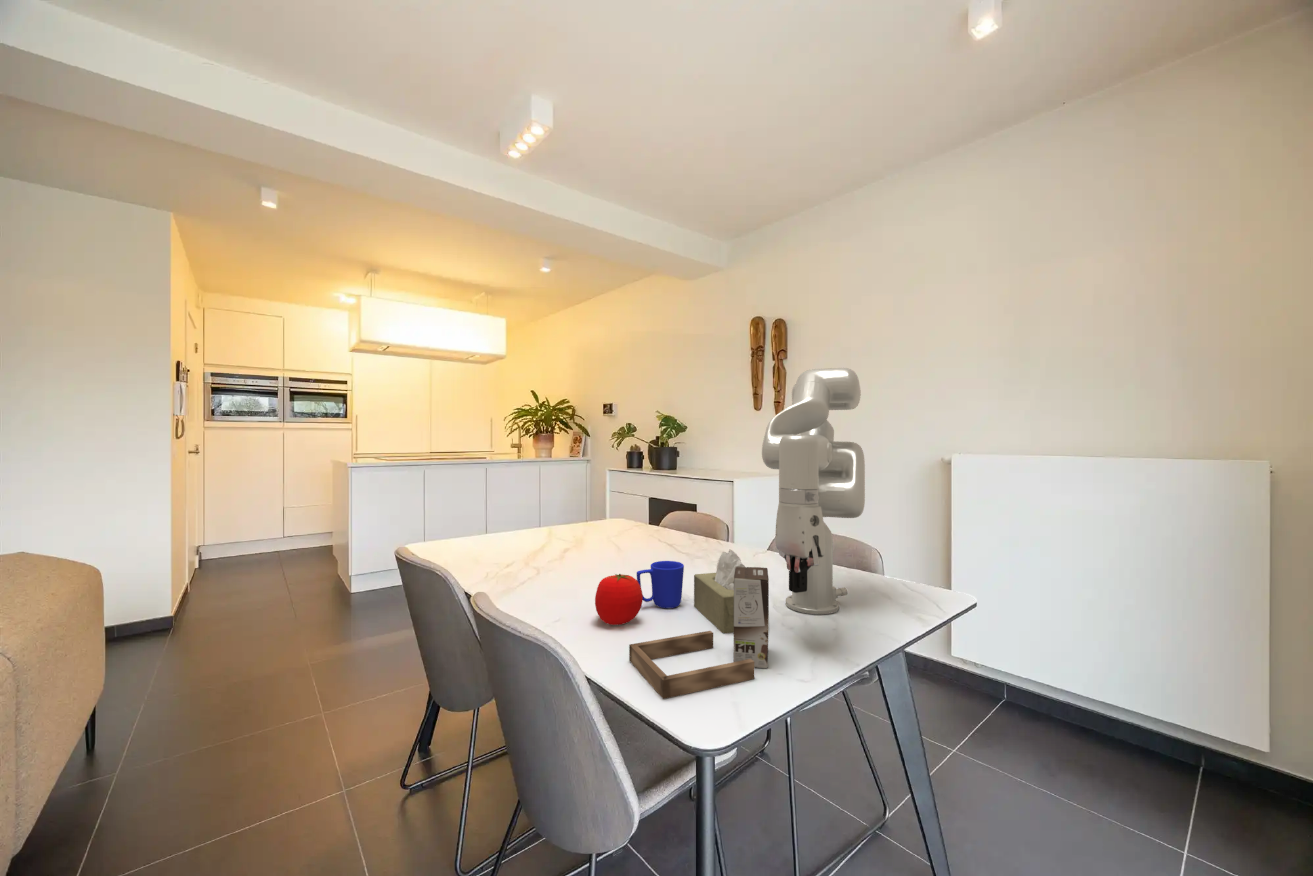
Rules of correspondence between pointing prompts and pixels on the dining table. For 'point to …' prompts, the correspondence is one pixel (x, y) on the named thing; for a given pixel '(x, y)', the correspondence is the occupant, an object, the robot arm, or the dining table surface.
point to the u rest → (692, 679)
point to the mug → (665, 583)
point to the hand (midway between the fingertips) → (797, 590)
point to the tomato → (618, 599)
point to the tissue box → (718, 592)
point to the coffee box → (751, 615)
